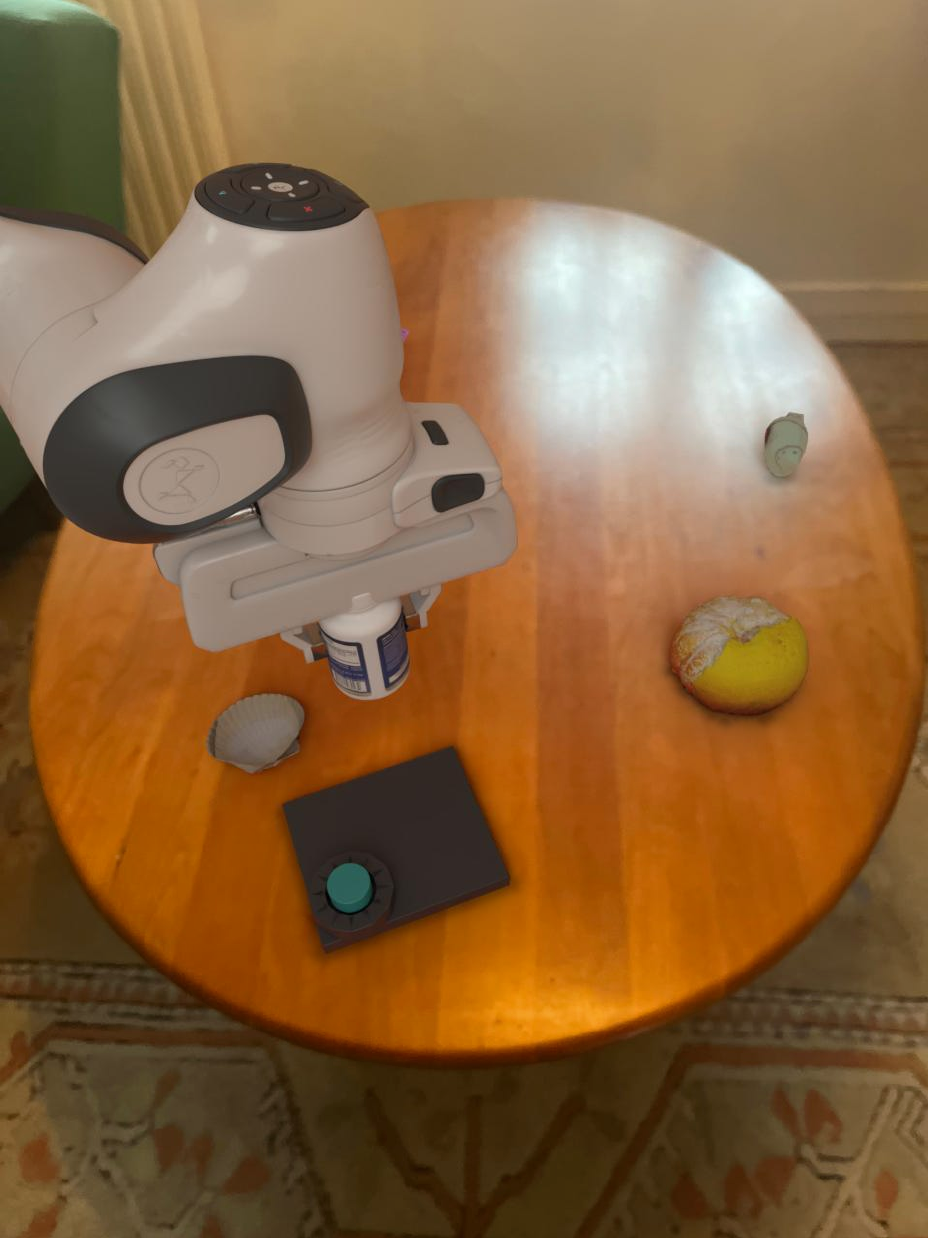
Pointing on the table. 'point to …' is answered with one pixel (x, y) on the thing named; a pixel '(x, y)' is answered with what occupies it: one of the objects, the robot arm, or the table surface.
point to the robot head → (785, 443)
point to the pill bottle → (368, 648)
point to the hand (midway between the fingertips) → (365, 637)
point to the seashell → (257, 732)
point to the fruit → (740, 655)
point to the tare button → (349, 887)
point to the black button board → (395, 845)
